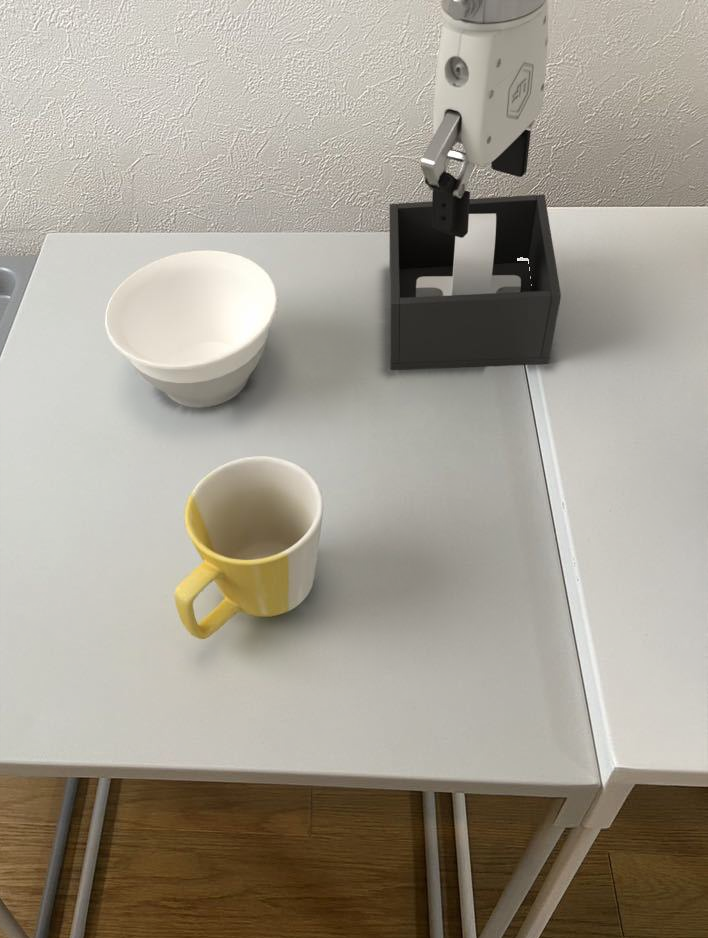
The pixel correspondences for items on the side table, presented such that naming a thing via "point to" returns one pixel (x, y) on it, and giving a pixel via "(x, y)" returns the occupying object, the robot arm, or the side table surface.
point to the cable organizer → (471, 265)
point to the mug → (251, 540)
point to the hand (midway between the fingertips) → (479, 201)
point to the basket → (476, 315)
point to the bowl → (194, 323)
